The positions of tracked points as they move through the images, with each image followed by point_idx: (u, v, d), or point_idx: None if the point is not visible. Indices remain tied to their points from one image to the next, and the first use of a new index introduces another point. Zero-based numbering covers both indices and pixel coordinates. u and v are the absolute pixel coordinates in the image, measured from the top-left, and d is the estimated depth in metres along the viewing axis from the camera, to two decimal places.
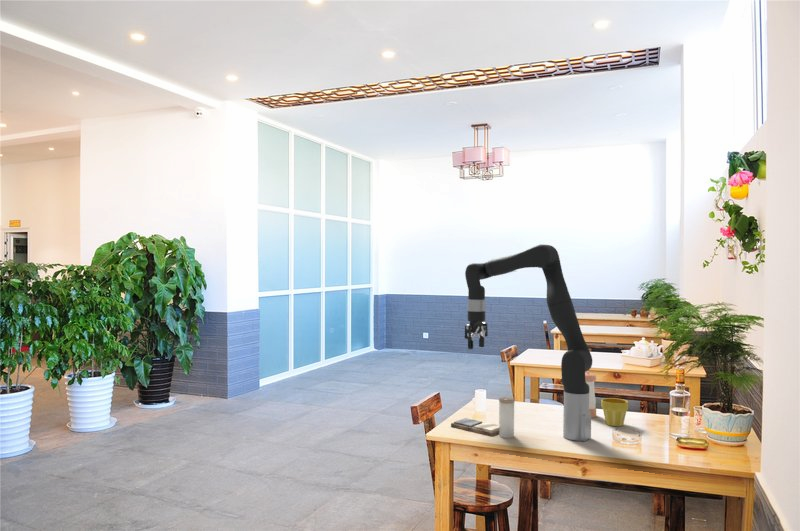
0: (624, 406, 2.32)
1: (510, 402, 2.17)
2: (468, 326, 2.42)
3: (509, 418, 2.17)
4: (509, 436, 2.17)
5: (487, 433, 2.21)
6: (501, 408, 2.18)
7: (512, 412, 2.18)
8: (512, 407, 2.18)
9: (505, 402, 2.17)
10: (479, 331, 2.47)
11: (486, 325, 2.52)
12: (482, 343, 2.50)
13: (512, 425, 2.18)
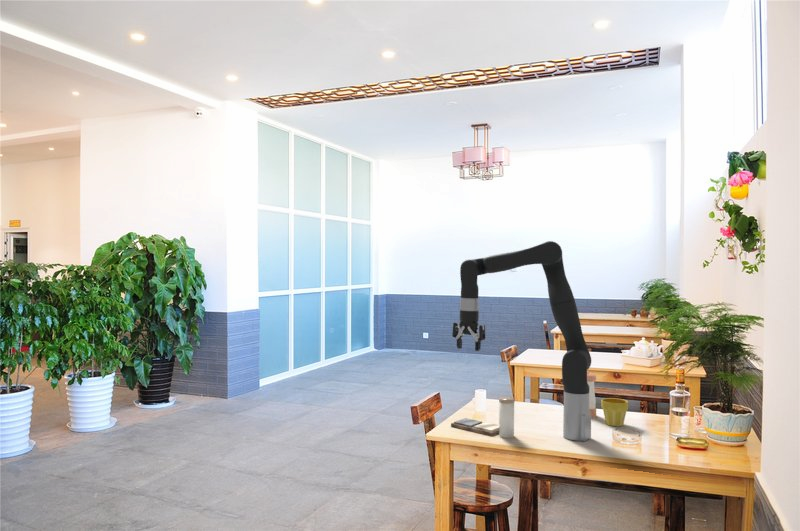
0: (624, 406, 2.32)
1: (510, 402, 2.17)
2: (484, 326, 2.28)
3: (509, 418, 2.17)
4: (509, 436, 2.17)
5: (487, 433, 2.21)
6: (501, 408, 2.18)
7: (512, 412, 2.18)
8: (512, 407, 2.18)
9: (505, 402, 2.17)
10: None
11: None
12: (461, 344, 2.36)
13: (512, 425, 2.18)
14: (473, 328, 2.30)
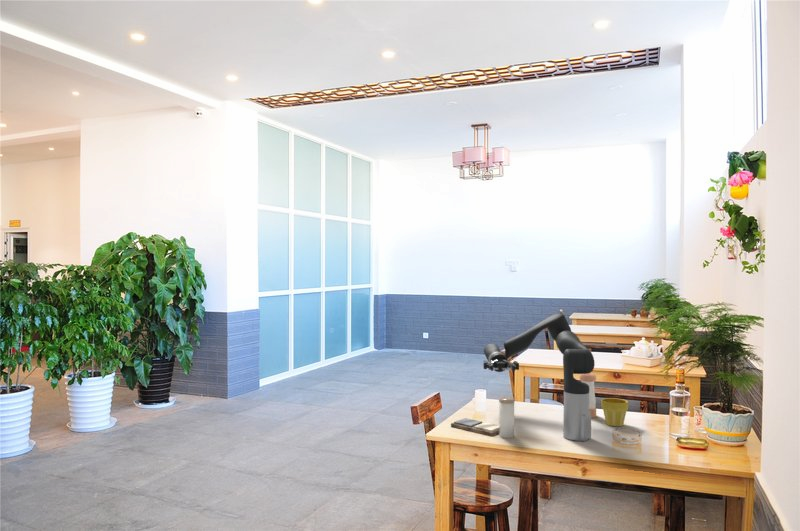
0: (624, 406, 2.32)
1: (510, 402, 2.17)
2: None
3: (509, 418, 2.17)
4: (509, 436, 2.17)
5: (487, 433, 2.21)
6: (501, 408, 2.18)
7: (512, 412, 2.18)
8: (512, 407, 2.18)
9: (505, 402, 2.17)
10: (498, 367, 2.38)
11: None
12: None
13: (512, 425, 2.18)
14: None
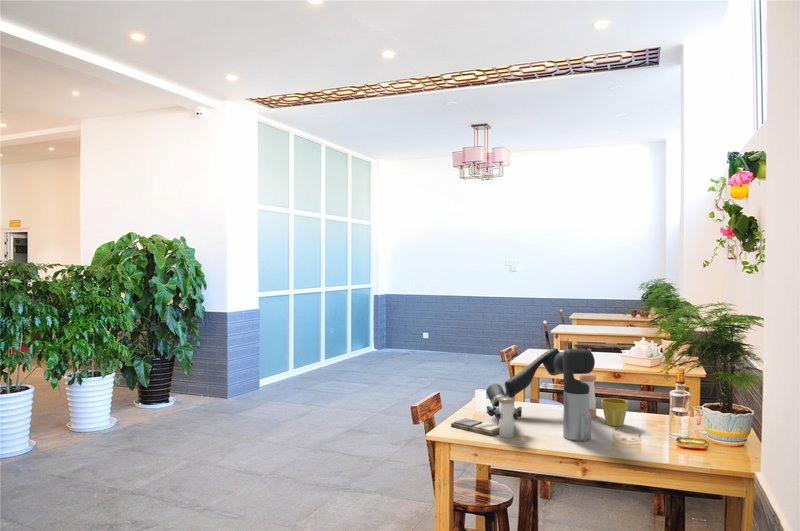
0: (624, 406, 2.32)
1: (510, 402, 2.17)
2: None
3: (509, 418, 2.17)
4: (509, 436, 2.17)
5: (487, 433, 2.21)
6: (501, 408, 2.18)
7: (512, 412, 2.18)
8: (512, 407, 2.18)
9: (505, 402, 2.17)
10: None
11: None
12: None
13: (511, 425, 2.17)
14: None
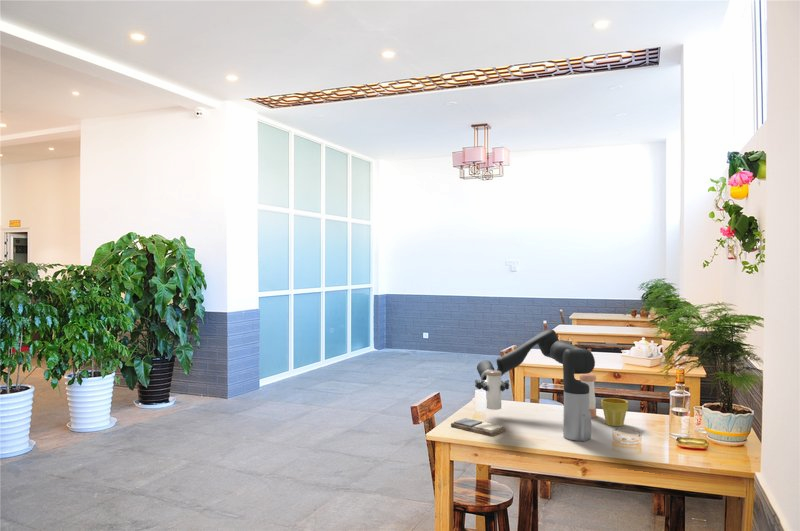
0: (624, 406, 2.32)
1: (497, 374, 2.22)
2: None
3: (496, 390, 2.22)
4: (496, 408, 2.22)
5: (487, 433, 2.21)
6: (488, 380, 2.23)
7: (499, 384, 2.23)
8: (499, 379, 2.23)
9: (492, 374, 2.22)
10: None
11: None
12: None
13: (499, 397, 2.22)
14: None
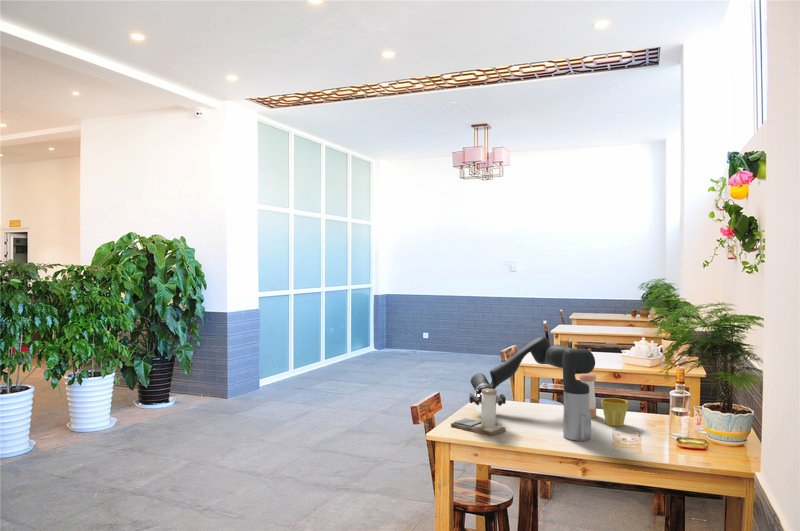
0: (624, 406, 2.32)
1: (492, 393, 2.23)
2: None
3: (491, 409, 2.23)
4: (490, 426, 2.24)
5: (487, 433, 2.21)
6: (483, 399, 2.24)
7: (494, 403, 2.24)
8: (494, 398, 2.24)
9: (487, 393, 2.23)
10: None
11: None
12: None
13: (493, 416, 2.24)
14: None
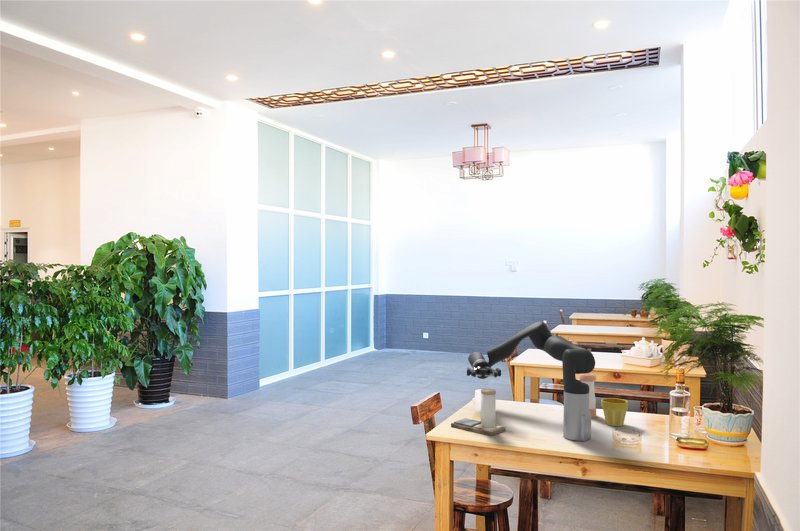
0: (624, 406, 2.32)
1: (491, 393, 2.23)
2: None
3: (490, 408, 2.23)
4: (490, 426, 2.24)
5: (487, 433, 2.21)
6: (483, 399, 2.25)
7: (493, 403, 2.24)
8: (493, 398, 2.24)
9: (486, 393, 2.23)
10: (481, 374, 2.44)
11: None
12: None
13: (493, 416, 2.24)
14: None
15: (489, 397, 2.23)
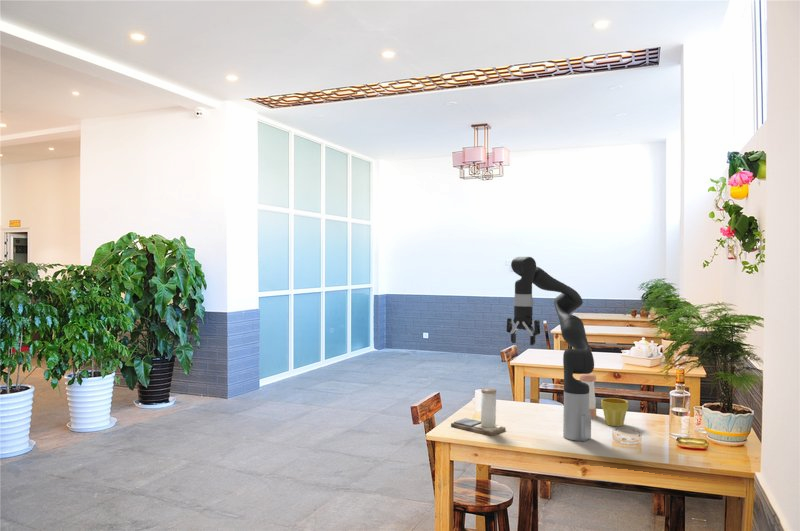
0: (624, 406, 2.32)
1: (491, 392, 2.24)
2: None
3: (490, 408, 2.24)
4: (490, 426, 2.24)
5: (487, 433, 2.21)
6: (483, 398, 2.25)
7: (493, 402, 2.24)
8: (493, 397, 2.25)
9: (486, 392, 2.24)
10: (523, 327, 2.39)
11: (535, 323, 2.35)
12: None
13: (493, 415, 2.24)
14: None
15: (489, 396, 2.24)
